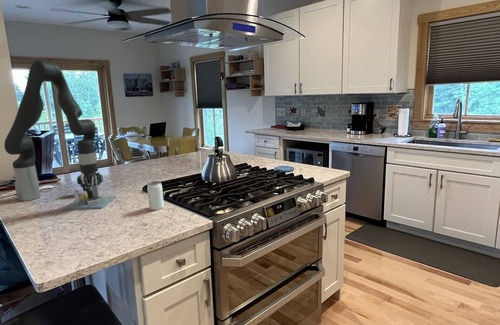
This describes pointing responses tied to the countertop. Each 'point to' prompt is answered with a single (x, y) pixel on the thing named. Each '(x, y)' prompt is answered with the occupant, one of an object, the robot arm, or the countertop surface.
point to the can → (155, 195)
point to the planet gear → (94, 193)
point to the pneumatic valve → (83, 178)
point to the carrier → (88, 202)
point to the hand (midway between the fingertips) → (93, 196)
